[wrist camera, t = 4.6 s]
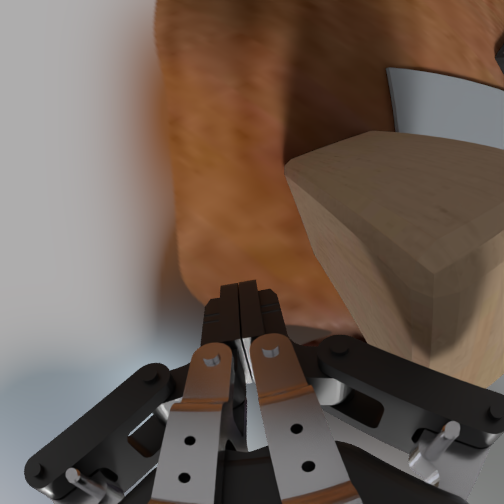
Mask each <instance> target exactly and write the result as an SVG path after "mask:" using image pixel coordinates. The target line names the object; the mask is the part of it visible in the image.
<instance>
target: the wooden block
mask: <svg viewBox="0 0 504 504" xmlns="http://www.w3.org/2000/svg"><path fill="white" fill-rule="evenodd" d="M284 175H285V177H286V180H287V182H288V185H289V187H290V190H291V192H292V195H293V197H294V200H295V203H296V205H297V208H298V211H299V213H300V216H301V219H302V221H303V224H304V227H305V230H306V232H307V235H308V238H309V241H310V244H311V246H312V249H313V252H314V255H315V256H316V258H317V259H318V261H319V263H320V264H321V266H322V267H323V269H324V270H325V272H326V274H327V275H328V277H329V279H330V280H331V282H332V283H333V285H334V287H335V288H336V290H337V292H338V293H339V295H340V296H341V298H342V300H343V301H344V303H345V305H346V306H347V308H348V310H349V312H350V313H351V315H352V317H353V318H354V320H355V322H356V323H357V325H358V327H359V329H360V330H361V332H362V334H363V336H364V337H365V339H366V341H367V343H368V344H370V345H372V346H374V347H377V348H379V349H382V350H384V351H387V352H389V353H392V354H394V355H397V356H399V357H402V358H404V359H407V360H409V361H412V362H414V363H417V364H419V365H422V366H425V367H427V368H430V369H432V370H435V371H438V372H440V373H443V374H446V375H449V376H451V377H454V378H457V379H459V380H462V381H465V382H468V383H471V384H473V385H476V386H479V387H482V388H485V389H486V388H487V387H488V386H490V385H491V384H492V383H493V382H495V381H496V380H497V379H498V378H499V377H501V376H502V375H503V374H504V150H503V149H499V148H495V147H491V146H486V145H481V144H476V143H471V142H466V141H460V140H455V139H448V138H442V137H435V136H427V135H419V134H410V133H399V132H387V131H369V132H366V133H363V134H360V135H357V136H354V137H351V138H348V139H345V140H342V141H339V142H336V143H333V144H331V145H328V146H325V147H322V148H319V149H317V150H314V151H311V152H309V153H306V154H303V155H301V156H298V157H295V158H293V159H291V160H290V161H289V162H288V163H287V164H286V165H285V172H284Z"/></svg>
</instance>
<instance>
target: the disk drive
mask: <svg viewBox="0 0 504 504" xmlns="http://www.w3.org/2000/svg"><path fill="white" fill-rule="evenodd" d="M495 59H496V61H497V63H498V65H499V67H500V68H501V70H502V72H503V74H504V44H503V46H502V47H501V49H500V50H499V51H498V53H497V55H496V57H495Z"/></svg>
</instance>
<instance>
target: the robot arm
mask: <svg viewBox="0 0 504 504" xmlns="http://www.w3.org/2000/svg"><path fill="white" fill-rule="evenodd" d="M251 373H252V374H251ZM252 376H253V380H254V382H255V383H256V387H257V392H258V400H259V405H260V410H261V415H262V419H263V424H264V428H265V433H266V437H267V442H268V446H266V447H263V448H260V449H257V450H254V451H251V452H248V448H247V397H246V384H247V383H252ZM322 409H323V410H325V411H326V412H328V413H330V414H331V415H333V416H335V417H337V418H338V419H340V420H342V421H344V422H346V423H348V424H349V425H351V426H353V427H355V428H357V429H359V430H361V431H363V432H365V433H366V434H368V435H370V436H372V437H374V438H376V439H378V440H380V441H382V442H384V443H387V444H389V445H391V446H393V447H395V448H397V449H399V450H401V451H404V452H406V453H408V454H409V458H408V461H409V465H410V468H411V469H412V470H413V471H414V472H415V473H417V474H418V475H420V476H421V477H422V478H423V480H424V481H425V482H424V481H422V480H420V479H418V478H416V477H414V476H412V475H409V474H407V473H405V472H403V471H401V470H399V469H397V468H396V467H394V466H392V465H390V464H388V463H386V462H384V461H382V460H380V459H379V458H377V457H375V456H373V455H371V454H370V453H368V452H366V451H364V450H363V449H361V448H359V447H356V446H354V445H352V444H348V443H345V442H340V441H334V438H333V436H332V433H331V431H330V428H329V426H328V423H327V421H326V418H325V416H324V413H323V411H322ZM151 413H153V414H154V415H153V416H151V417H150V418H149V419H148V420H147V421H146V422H145V423H144V424H143V425H142V426H141V427H139V428H138V429H137V430H136V431H135V432H134V433H133V434H132V435H130V436H128V435H129V433H130V432H131V431H132V430H134V429H135V428H136V427H137V426H138V425H139V424H140V423H141V422H142V421H144V420H145V419H146V418H147V417H148V416H149V415H150V414H151ZM503 433H504V395H502V394H500V393H497V392H494V391H491V390H488V389H485V388H482V387H479V386H476V385H473V384H471V383H468V382H465V381H462V380H459V379H457V378H454V377H451V376H449V375H446V374H443V373H440V372H438V371H435V370H432V369H430V368H427V367H425V366H422V365H419V364H417V363H414V362H412V361H409V360H407V359H404V358H402V357H399V356H397V355H394V354H392V353H389V352H387V351H384V350H382V349H379V348H377V347H374V346H372V345H370V344H367V343H365V342H362V341H360V340H358V339H355V338H353V337H350V336H347V335H334V336H330V337H328V338H326V339H324V340H323V341H322V342H321V343H320V344H319V346H318V347H310V346H302V345H299V344H296V343H294V342H293V341H292V340H291V339H289V337H288V335H287V331H286V327H285V323H284V319H283V316H282V312H281V308H280V304H279V301H278V297H277V294H276V293H274V292H273V291H272V290H271V289H266V290H261V291H258V289H257V284H256V280H250V281H245V282H239V285H238V283H234V284H228V285H223V286H221V288H220V298H215V299H210V301H209V302H208V304H207V305H206V306H205V311H204V319H203V328H202V338H201V346H200V348H198V349H197V350H196V351H195V352H194V353H193V355H192V358H191V362H190V363H188V364H187V365H185V366H182V367H179V368H177V369H173V370H171V371H169V369H168V368H167V367H166V366H165V365H163V364H160V363H151V364H148V365H145V366H143V367H142V368H140V369H139V370H137V371H136V372H135V373H134V374H133V375H132V376H130V377H129V378H128V379H127V380H126V381H124V382H123V383H122V384H121V385H120V386H118V387H117V388H116V389H115V390H114V391H112V392H111V393H110V394H109V395H107V396H106V397H105V398H104V399H103V400H102V401H100V402H99V403H98V404H97V405H95V406H94V407H93V408H92V409H91V410H89V411H88V412H87V413H85V414H84V415H83V416H82V417H81V418H79V419H78V420H77V421H76V422H74V423H73V424H72V425H71V426H70V427H68V428H67V429H66V430H65V431H64V432H62V433H61V434H60V435H58V436H57V437H56V438H55V439H53V440H52V441H51V442H50V443H48V444H47V445H46V446H44V447H43V448H42V449H41V450H39V451H38V452H37V453H36V454H34V455H33V456H32V457H31V458H30V459H29V460H28V461H27V463H26V465H25V469H24V475H25V479H26V481H27V483H28V484H29V485H30V486H31V487H33V488H34V489H36V490H38V491H39V492H41V493H43V494H44V495H46V496H47V497H48V498H50V499H51V500H52V501H53V503H54V504H468V502H467V501H466V500H467V498H468V496H469V494H470V492H471V490H472V488H473V486H474V484H475V482H476V480H477V478H478V476H479V473H480V471H481V469H482V466H483V464H484V462H485V459H486V457H487V454H488V452H489V449H490V447H491V445H492V444H493V443H494V442H495V441H496V440H497V439H498V438H499V437H500V436H501V435H502V434H503ZM157 463H158V466H157V467H156V468H155V469H154V470H152V471H151V472H150V473H149V474H148V475H147V476H146V477H145V478H144V479H143V480H142V481H141V482H140V483H139V484H138V485H137V486H136V487H135V488H134V489H133V490H132V491H131V492H129V493H128V494H127V495H126V496H124V493H125V492H126V491H127V490H128V489H129V488H130V487H131V486H133V485H134V484H135V483H136V482H137V481H138V480H139V479H140V478H142V477H143V476H144V475H145V474H146V473H147V472H148V471H149V470H150V469H151V468H152V467H154V466H155V465H156V464H157Z"/></svg>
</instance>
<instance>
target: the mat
mask: <svg viewBox="0 0 504 504" xmlns="http://www.w3.org/2000/svg"><path fill="white" fill-rule="evenodd" d="M386 72H387V77H388V83H389V88H390V94H391V100H392V107H393V115H394V123H395V131H396V132H399V133H410V134H419V135H427V136H435V137H442V138H448V139H455V140H460V141H466V142H471V143H476V144H481V145H486V146H491V147H495V148H499V149H503V150H504V91H502V90H499V89H496V88H493V87H490V86H486V85H483V84H479V83H476V82H472V81H468V80H464V79H460V78H455V77H450V76H446V75H440V74H435V73H429V72H423V71H416V70H409V69H400V68H390V67H388V68H386Z"/></svg>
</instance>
